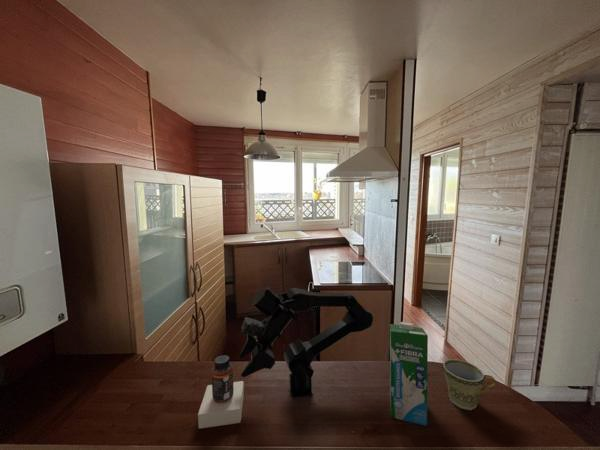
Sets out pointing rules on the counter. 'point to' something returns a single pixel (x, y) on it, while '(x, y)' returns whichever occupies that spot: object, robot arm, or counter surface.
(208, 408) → the plinth
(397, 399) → the milk carton
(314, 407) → the counter surface
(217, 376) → the supplement bottle
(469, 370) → the ceramic cup
